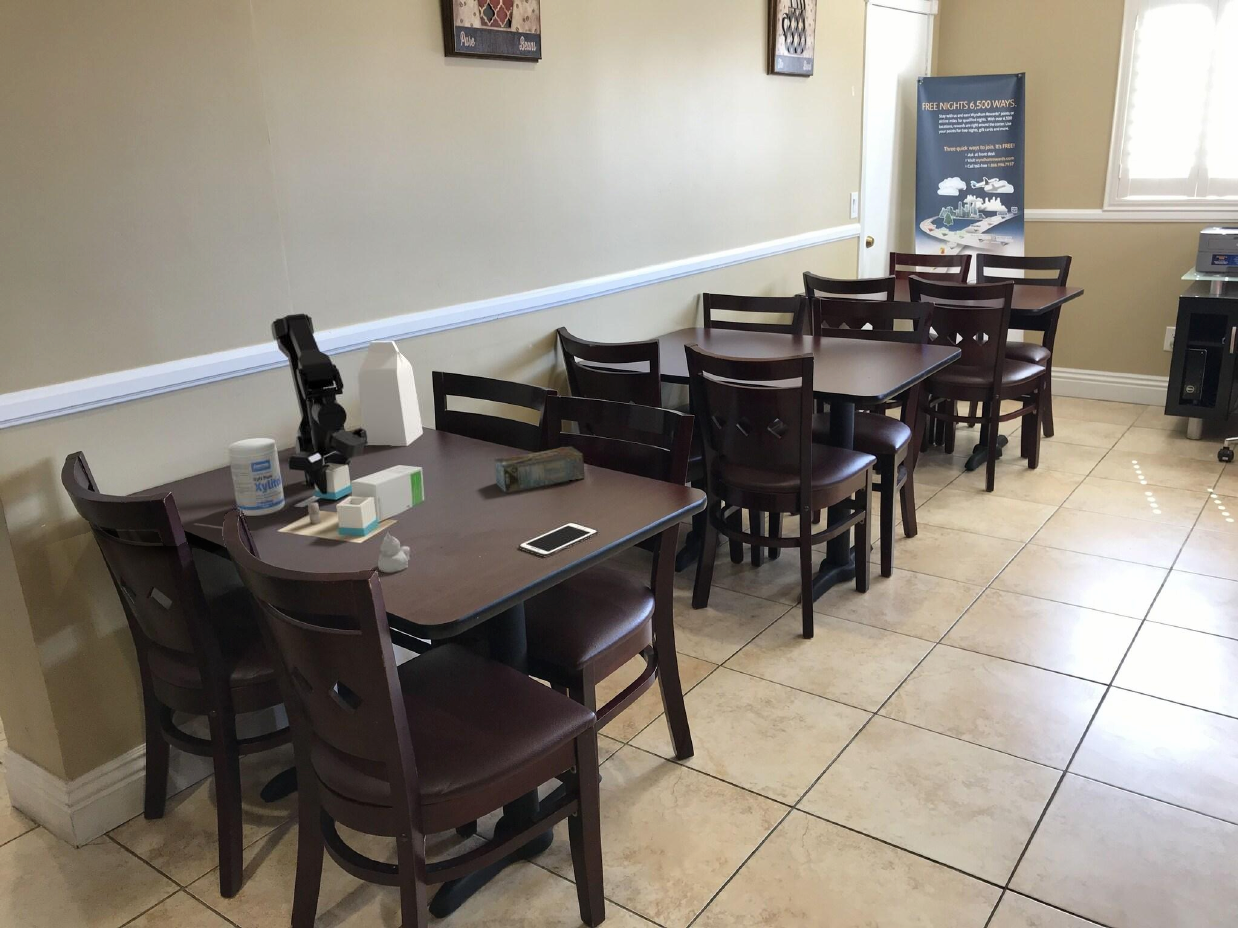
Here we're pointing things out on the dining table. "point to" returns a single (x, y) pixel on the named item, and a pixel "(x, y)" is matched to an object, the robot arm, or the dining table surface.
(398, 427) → the milk
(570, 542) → the cell phone
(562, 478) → the beverage carton
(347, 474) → the sleeve
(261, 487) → the supplement tub
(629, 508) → the dining table surface
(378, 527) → the pin board
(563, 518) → the dining table surface
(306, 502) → the mat
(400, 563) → the white figurine
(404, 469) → the skincare box
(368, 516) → the sleeve
